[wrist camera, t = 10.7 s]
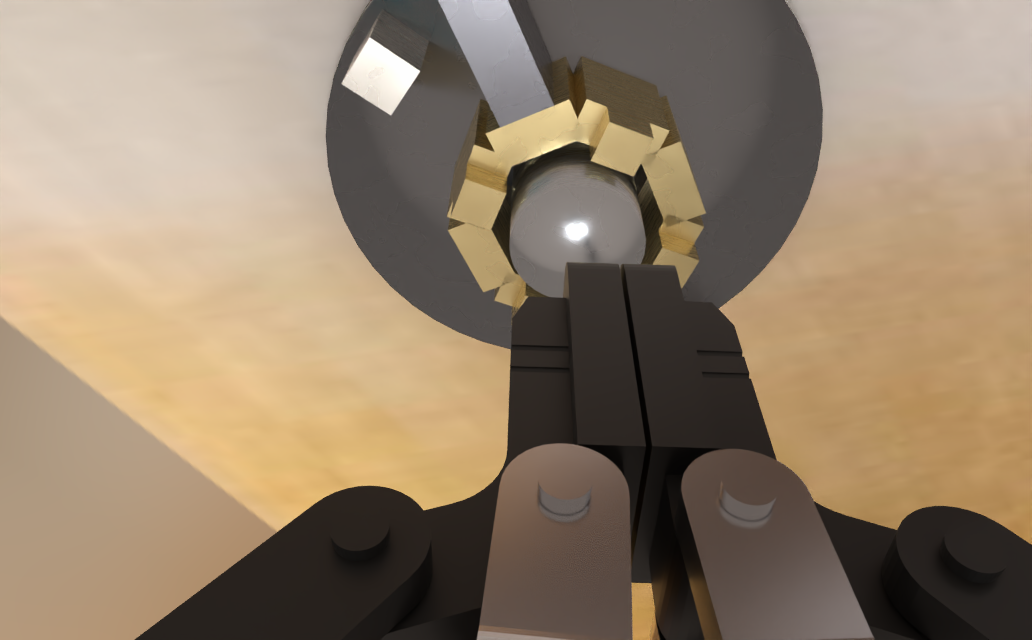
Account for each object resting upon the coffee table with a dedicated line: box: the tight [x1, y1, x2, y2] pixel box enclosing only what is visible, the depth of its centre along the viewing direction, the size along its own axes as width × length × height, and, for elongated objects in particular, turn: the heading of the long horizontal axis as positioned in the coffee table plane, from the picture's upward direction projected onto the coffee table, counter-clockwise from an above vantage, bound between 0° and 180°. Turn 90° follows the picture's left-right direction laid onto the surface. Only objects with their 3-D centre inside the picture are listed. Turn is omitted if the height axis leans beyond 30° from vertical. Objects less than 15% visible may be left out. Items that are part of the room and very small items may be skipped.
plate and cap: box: [326, 0, 823, 349], centre depth 33 cm, size 20×20×7 cm
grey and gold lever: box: [438, 0, 706, 325], centre depth 30 cm, size 19×9×5 cm, turn 24°
